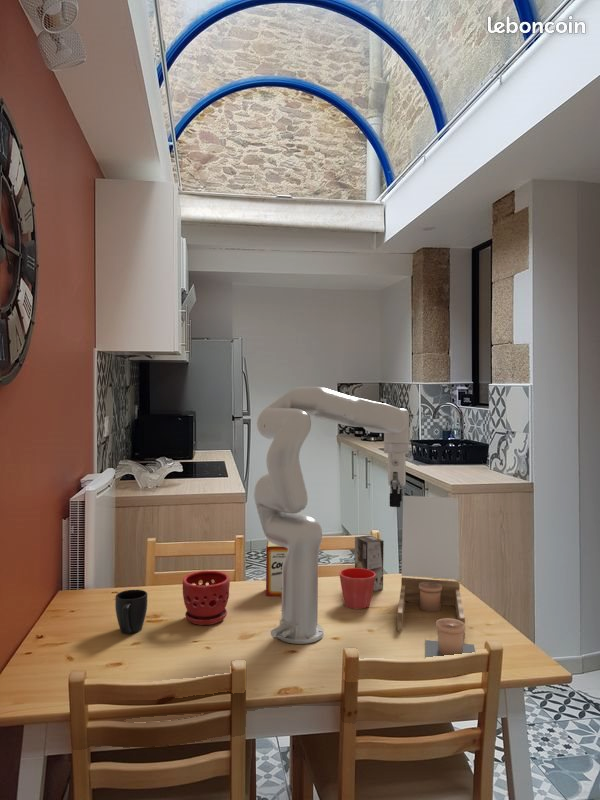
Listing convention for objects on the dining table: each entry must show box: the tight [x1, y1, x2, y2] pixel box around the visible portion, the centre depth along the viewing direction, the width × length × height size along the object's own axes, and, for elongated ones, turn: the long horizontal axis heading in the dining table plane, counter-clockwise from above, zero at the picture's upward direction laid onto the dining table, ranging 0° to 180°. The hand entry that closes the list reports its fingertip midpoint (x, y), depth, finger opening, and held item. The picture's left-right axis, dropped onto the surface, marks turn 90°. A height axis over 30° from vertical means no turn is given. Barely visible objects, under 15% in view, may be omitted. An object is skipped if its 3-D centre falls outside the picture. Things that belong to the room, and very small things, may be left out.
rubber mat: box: [424, 639, 476, 658], centre depth 142 cm, size 12×12×1 cm
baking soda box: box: [265, 541, 288, 597], centre depth 186 cm, size 10×6×16 cm
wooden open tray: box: [397, 576, 466, 638], centre depth 166 cm, size 25×17×7 cm
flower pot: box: [339, 567, 376, 610], centre depth 175 cm, size 11×11×10 cm
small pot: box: [435, 617, 466, 656], centre depth 142 cm, size 7×7×7 cm
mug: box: [114, 589, 148, 635], centre depth 153 cm, size 8×12×10 cm
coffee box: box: [354, 534, 385, 591], centre depth 193 cm, size 9×6×16 cm
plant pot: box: [182, 570, 231, 626], centre depth 162 cm, size 13×13×12 cm
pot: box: [419, 582, 442, 613], centre depth 173 cm, size 7×7×7 cm
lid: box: [401, 495, 460, 581], centre depth 183 cm, size 25×17×2 cm
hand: (395, 503), depth 178 cm, fingers open, 9 cm apart
